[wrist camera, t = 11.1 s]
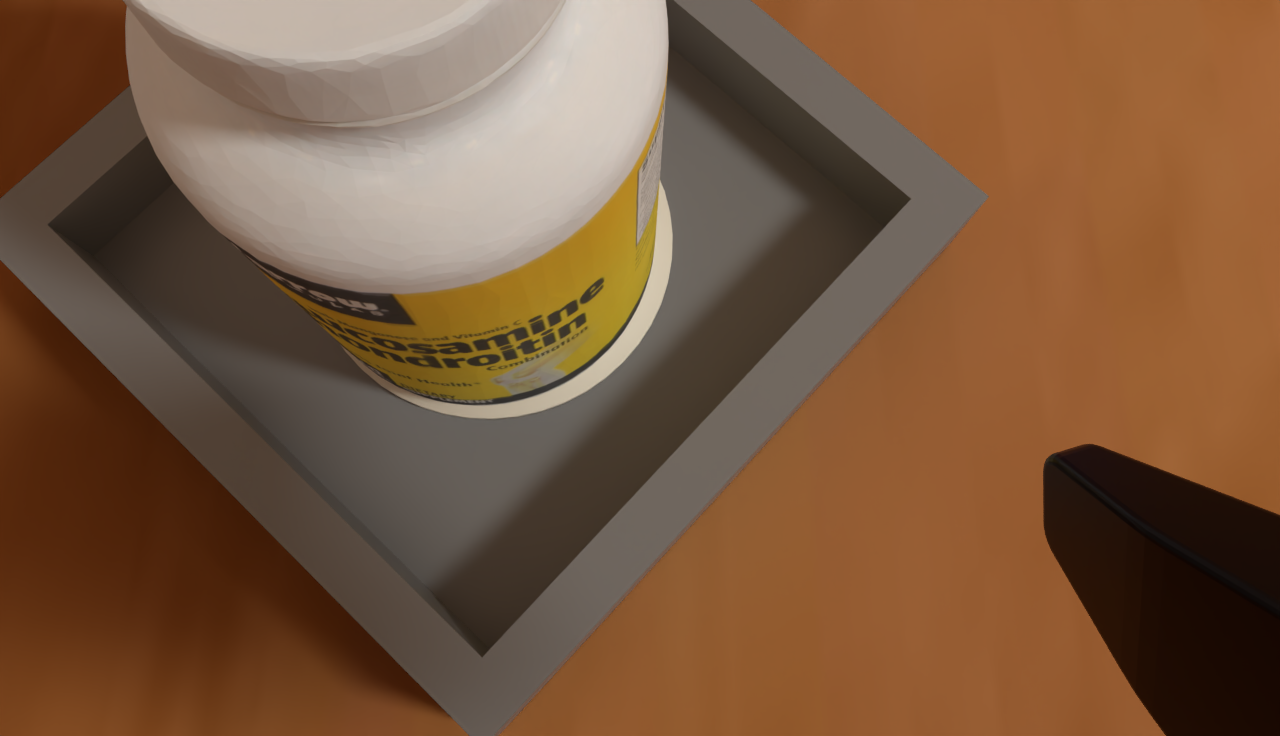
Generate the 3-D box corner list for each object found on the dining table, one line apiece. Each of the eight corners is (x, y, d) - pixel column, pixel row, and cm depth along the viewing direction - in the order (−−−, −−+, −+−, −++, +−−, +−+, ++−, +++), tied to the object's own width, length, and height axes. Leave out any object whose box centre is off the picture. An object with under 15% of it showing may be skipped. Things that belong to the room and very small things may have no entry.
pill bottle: (262, 338, 21) (-196, 4, 9) (406, 49, 22) (159, -552, 11) (579, 467, 20) (503, 279, 9) (707, 163, 21) (784, -342, 10)
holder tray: (500, 733, 20) (481, 748, 18) (41, 271, 22) (-33, 226, 20) (950, 243, 22) (988, 196, 20) (496, -137, 24) (481, -221, 22)
